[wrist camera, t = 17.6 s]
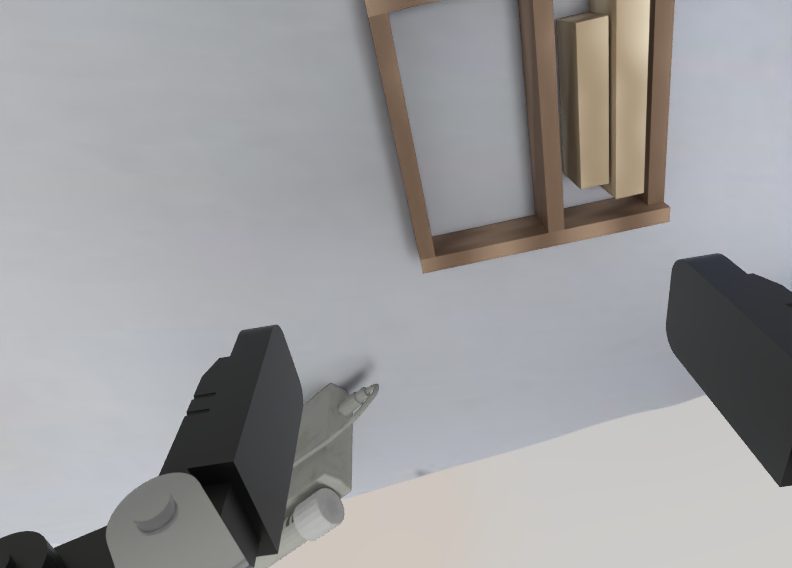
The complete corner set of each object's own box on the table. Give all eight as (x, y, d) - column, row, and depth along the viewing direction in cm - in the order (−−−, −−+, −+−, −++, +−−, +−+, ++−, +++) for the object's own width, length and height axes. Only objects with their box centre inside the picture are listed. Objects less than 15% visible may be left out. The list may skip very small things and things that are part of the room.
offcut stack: (617, -13, 35) (650, -12, 31) (616, 172, 41) (643, 192, 37) (554, 2, 35) (579, 5, 31) (563, 184, 42) (585, 205, 38)
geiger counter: (204, 636, 46) (412, 499, 38) (140, 610, 44) (349, 458, 36) (236, 499, 58) (400, 374, 50) (187, 473, 56) (352, 336, 48)
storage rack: (658, -80, 33) (688, -85, 30) (647, 204, 43) (669, 221, 40) (363, -7, 34) (363, -5, 31) (419, 253, 44) (423, 273, 41)
